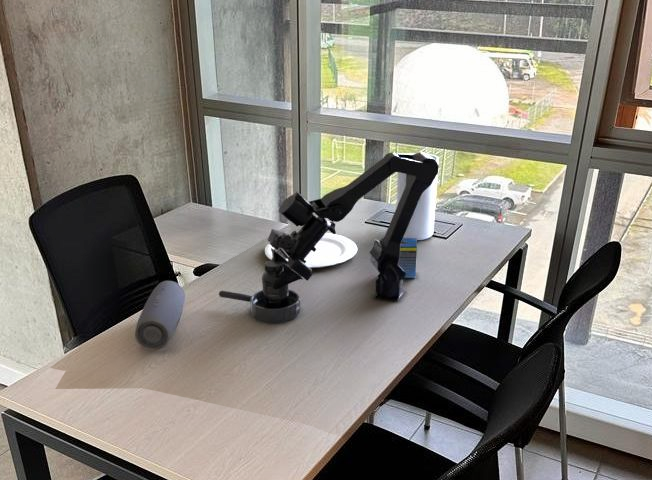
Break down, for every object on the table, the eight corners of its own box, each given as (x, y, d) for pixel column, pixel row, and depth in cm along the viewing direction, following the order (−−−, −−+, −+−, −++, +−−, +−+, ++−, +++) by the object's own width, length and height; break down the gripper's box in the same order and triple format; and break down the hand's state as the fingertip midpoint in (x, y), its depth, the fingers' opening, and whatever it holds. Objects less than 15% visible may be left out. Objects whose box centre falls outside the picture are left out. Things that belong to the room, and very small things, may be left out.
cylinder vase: (391, 228, 244) (394, 154, 230) (427, 226, 245) (432, 152, 231) (399, 242, 233) (403, 164, 220) (437, 239, 234) (443, 162, 221)
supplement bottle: (294, 303, 192) (292, 262, 185) (278, 313, 187) (275, 271, 181) (275, 297, 195) (272, 256, 189) (258, 306, 191) (255, 264, 185)
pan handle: (256, 300, 194) (256, 294, 193) (253, 303, 193) (253, 297, 192) (221, 295, 198) (220, 289, 197) (217, 297, 196) (217, 291, 195)
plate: (373, 247, 230) (373, 241, 229) (327, 280, 209) (326, 274, 208) (297, 231, 244) (297, 226, 243) (246, 261, 223) (245, 255, 222)
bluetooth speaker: (155, 312, 194) (149, 278, 189) (189, 312, 194) (185, 278, 189) (135, 355, 175) (129, 318, 170) (173, 354, 175) (168, 317, 169)
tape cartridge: (415, 273, 212) (417, 233, 205) (415, 278, 209) (418, 238, 202) (384, 272, 213) (386, 233, 206) (384, 278, 209) (386, 238, 203)
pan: (307, 306, 195) (307, 291, 193) (288, 327, 185) (287, 312, 183) (264, 299, 200) (263, 285, 197) (243, 319, 190) (242, 305, 187)
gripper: (275, 207, 188) (237, 254, 191) (298, 230, 173) (257, 280, 175) (304, 231, 194) (268, 276, 197) (329, 256, 179) (289, 304, 182)
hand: (270, 283), depth 187 cm, fingers closed on supplement bottle, 7 cm apart
